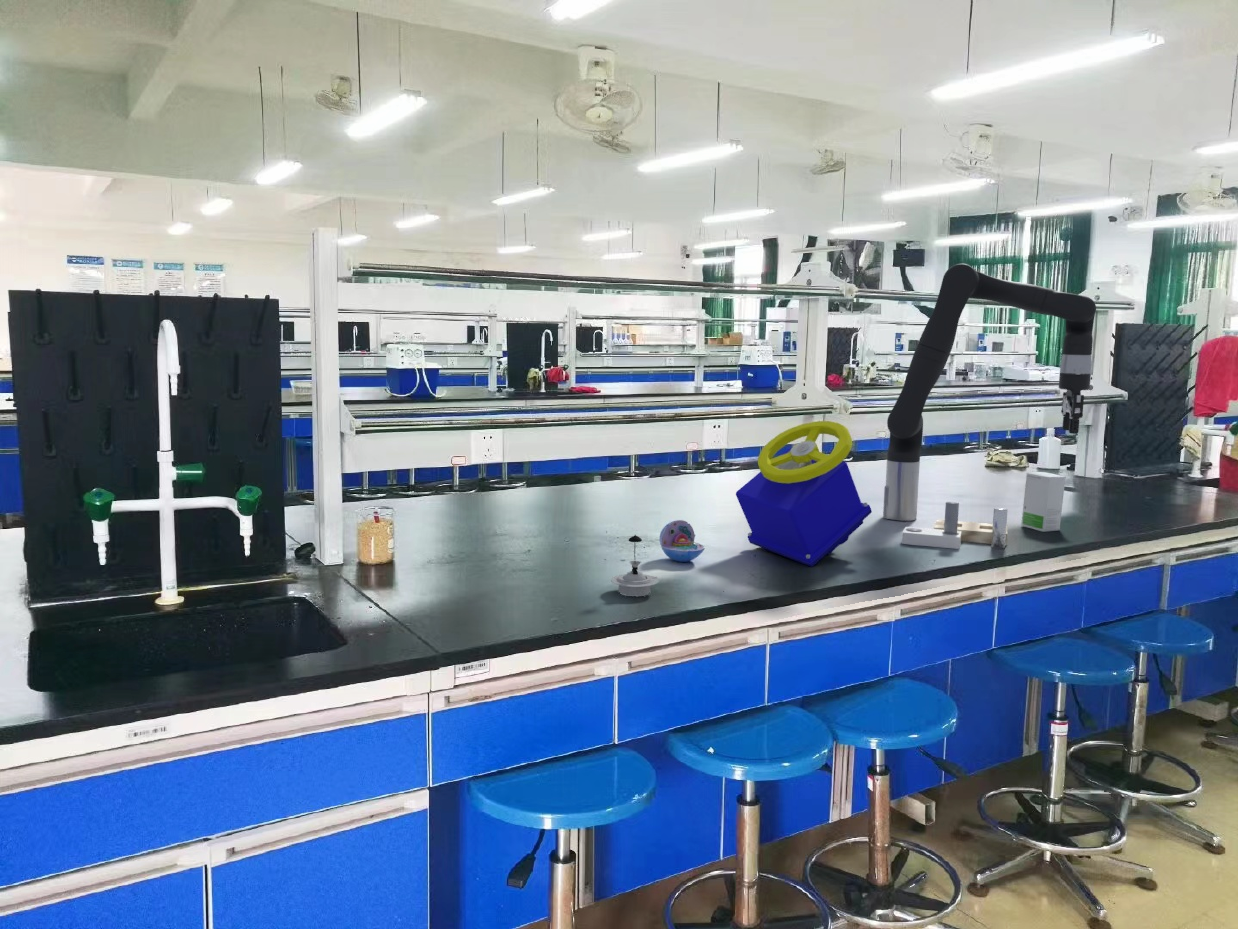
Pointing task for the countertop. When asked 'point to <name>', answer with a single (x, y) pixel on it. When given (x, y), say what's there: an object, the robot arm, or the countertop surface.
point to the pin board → (972, 531)
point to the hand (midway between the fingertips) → (1070, 431)
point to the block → (937, 531)
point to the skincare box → (1043, 501)
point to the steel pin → (999, 528)
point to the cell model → (680, 541)
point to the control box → (803, 495)
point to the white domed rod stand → (634, 578)
